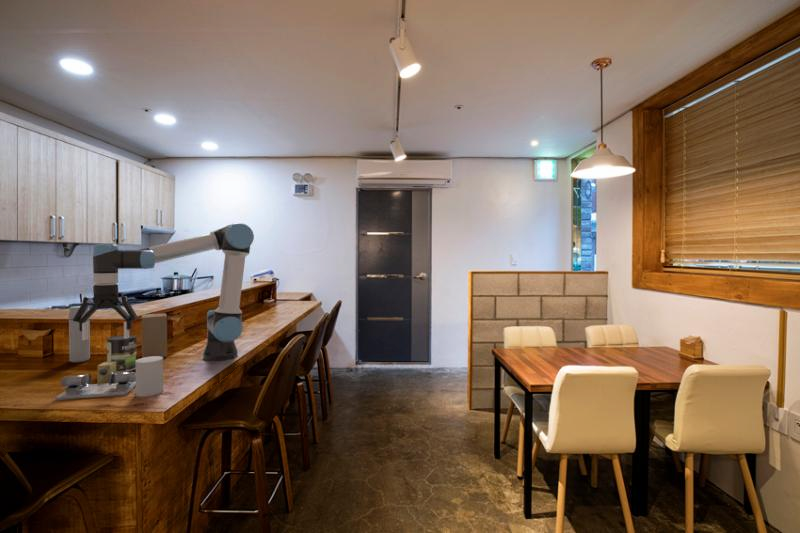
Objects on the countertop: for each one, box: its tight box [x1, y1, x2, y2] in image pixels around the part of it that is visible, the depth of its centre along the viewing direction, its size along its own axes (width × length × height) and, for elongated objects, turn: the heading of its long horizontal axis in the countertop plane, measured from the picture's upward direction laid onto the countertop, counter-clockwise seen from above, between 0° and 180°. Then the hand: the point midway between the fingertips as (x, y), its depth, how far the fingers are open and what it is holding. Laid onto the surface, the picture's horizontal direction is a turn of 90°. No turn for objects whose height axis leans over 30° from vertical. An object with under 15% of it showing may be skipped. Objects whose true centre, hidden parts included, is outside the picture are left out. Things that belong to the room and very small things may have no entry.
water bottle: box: [67, 305, 92, 364], centre depth 167 cm, size 9×8×25 cm
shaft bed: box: [55, 371, 136, 401], centre depth 130 cm, size 21×11×7 cm, turn 105°
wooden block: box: [141, 312, 168, 358], centre depth 176 cm, size 10×10×20 cm
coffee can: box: [106, 334, 138, 373], centre depth 155 cm, size 10×10×14 cm
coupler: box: [96, 361, 116, 384], centre depth 141 cm, size 5×4×7 cm
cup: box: [135, 356, 164, 398], centre depth 130 cm, size 8×8×12 cm
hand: (106, 338), depth 141 cm, fingers open, 13 cm apart
